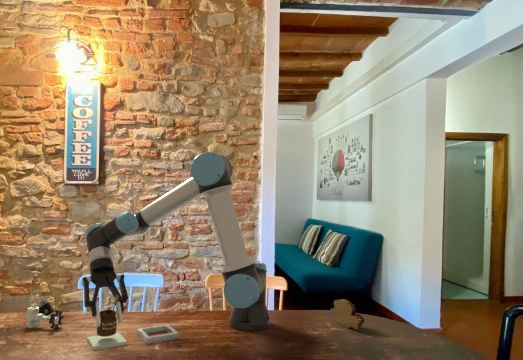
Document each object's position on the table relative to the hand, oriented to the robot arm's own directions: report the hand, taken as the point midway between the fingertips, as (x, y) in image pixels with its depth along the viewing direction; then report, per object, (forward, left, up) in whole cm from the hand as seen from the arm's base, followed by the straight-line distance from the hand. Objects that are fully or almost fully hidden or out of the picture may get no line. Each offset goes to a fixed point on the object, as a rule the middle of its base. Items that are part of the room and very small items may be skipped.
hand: (109, 323), depth 134 cm
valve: (+16, -29, -7) cm, 34 cm away
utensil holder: (0, -4, -5) cm, 6 cm away
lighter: (+16, -43, -7) cm, 46 cm away
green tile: (0, -4, -7) cm, 8 cm away
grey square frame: (-16, -2, -7) cm, 18 cm away
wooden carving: (-81, +20, -7) cm, 84 cm away
